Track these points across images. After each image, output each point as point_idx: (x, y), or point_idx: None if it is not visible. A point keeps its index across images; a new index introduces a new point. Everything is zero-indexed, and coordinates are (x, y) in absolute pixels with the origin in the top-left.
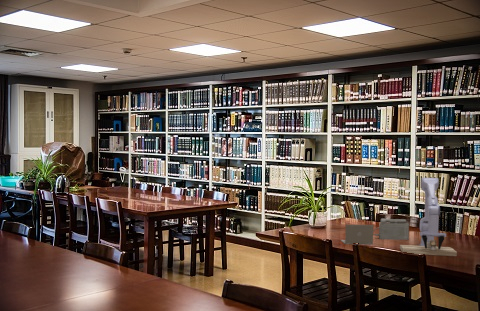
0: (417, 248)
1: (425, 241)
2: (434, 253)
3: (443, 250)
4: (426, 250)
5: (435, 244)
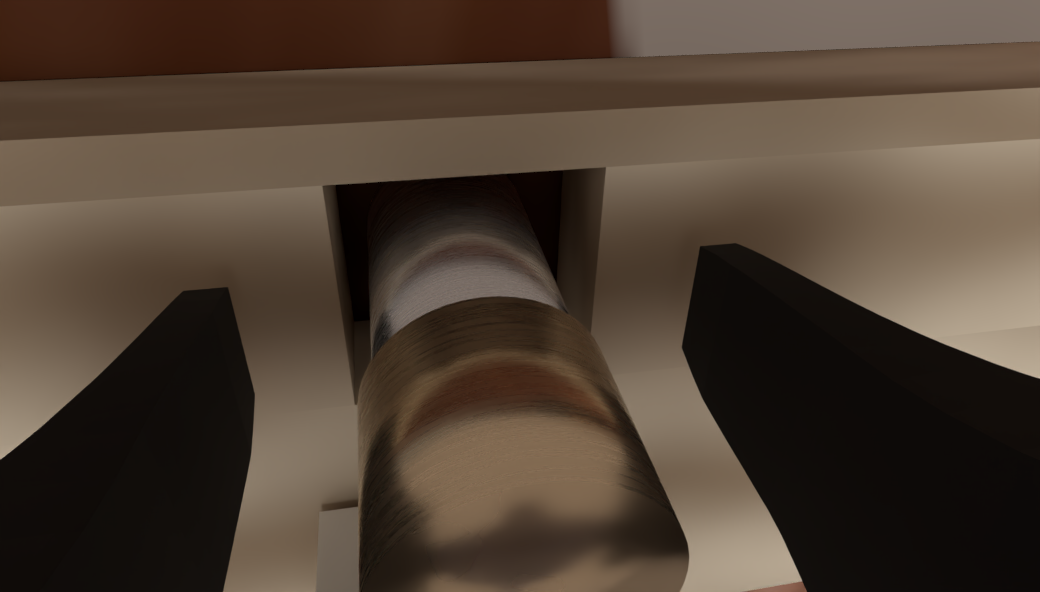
0: (895, 320)
1: (973, 377)
2: (421, 85)
3: (49, 286)
4: (738, 100)
5: (393, 386)
